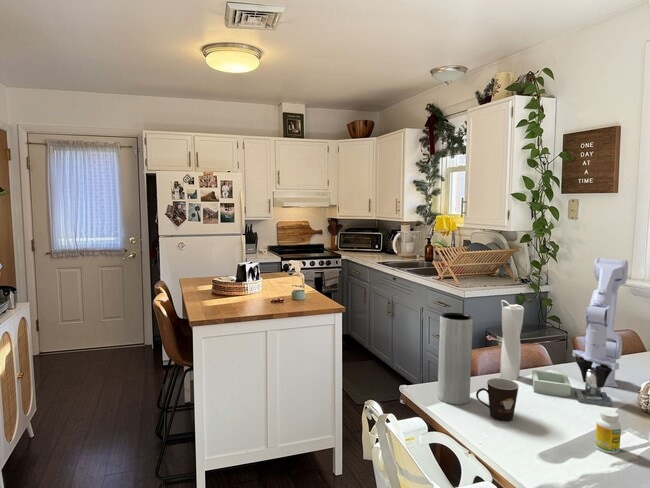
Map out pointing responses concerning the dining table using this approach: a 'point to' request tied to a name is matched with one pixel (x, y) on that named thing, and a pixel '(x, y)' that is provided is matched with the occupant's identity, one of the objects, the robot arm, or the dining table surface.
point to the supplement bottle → (608, 432)
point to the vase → (455, 358)
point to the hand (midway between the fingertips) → (593, 384)
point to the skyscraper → (511, 341)
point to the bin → (551, 383)
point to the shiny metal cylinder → (591, 381)
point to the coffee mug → (501, 398)
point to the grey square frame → (603, 402)
